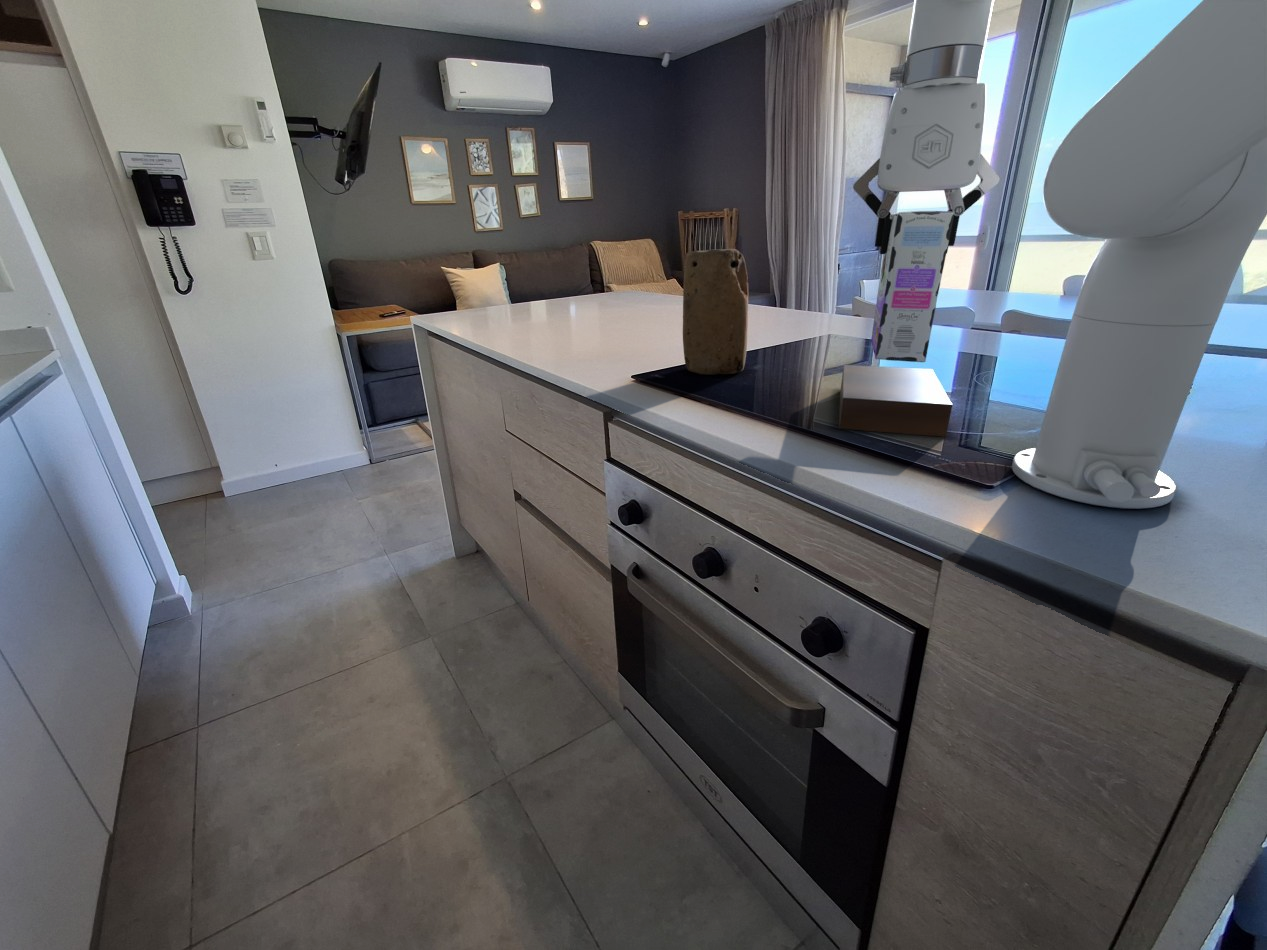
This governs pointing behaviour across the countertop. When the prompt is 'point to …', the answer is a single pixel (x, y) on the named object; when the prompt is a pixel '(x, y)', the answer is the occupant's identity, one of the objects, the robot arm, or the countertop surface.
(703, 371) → the block
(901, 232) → the candy box
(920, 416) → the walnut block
